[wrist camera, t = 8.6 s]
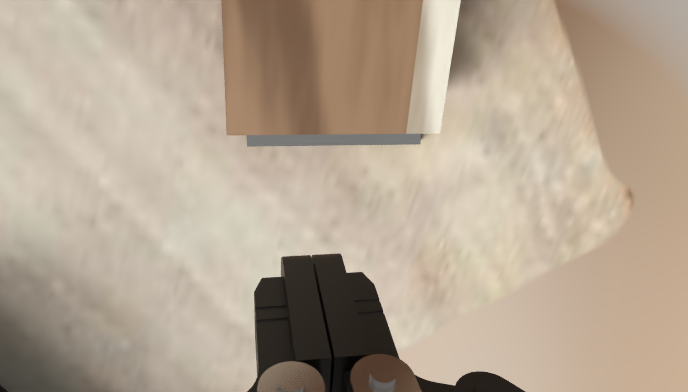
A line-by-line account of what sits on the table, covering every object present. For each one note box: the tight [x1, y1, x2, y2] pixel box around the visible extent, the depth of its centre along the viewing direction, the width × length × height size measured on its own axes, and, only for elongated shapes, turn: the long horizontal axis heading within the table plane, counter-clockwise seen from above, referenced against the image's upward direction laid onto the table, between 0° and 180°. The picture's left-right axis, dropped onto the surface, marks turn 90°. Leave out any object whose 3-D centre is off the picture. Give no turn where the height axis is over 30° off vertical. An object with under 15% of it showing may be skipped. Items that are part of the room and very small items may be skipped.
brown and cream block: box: [222, 0, 461, 135], centre depth 33 cm, size 5×8×12 cm
